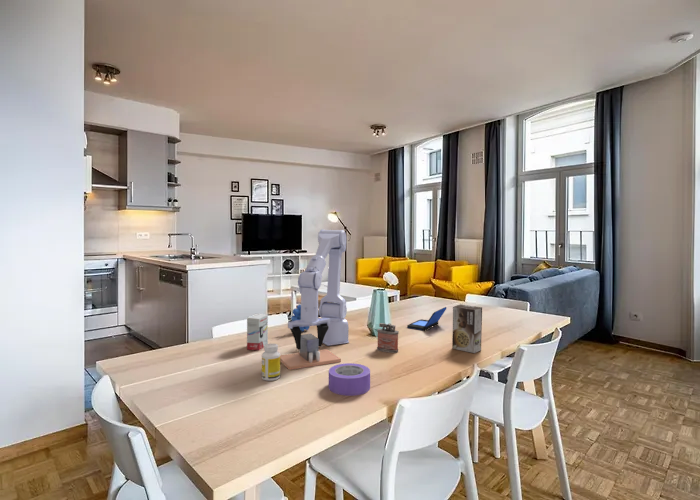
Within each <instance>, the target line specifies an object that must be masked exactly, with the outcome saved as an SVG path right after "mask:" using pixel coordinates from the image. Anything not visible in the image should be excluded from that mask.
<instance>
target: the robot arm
mask: <svg viewBox="0 0 700 500" xmlns="http://www.w3.org/2000/svg"><path fill="white" fill-rule="evenodd" d="M317 242H318V246H317V249H316V252H315V254H314V255H312V256H311V257H310V259H309V261H308V263H307V265H306V267H305V270H304V271H302V272H301V273H300V274H299V275H298V280H297V284H298V285H297V286H298V287H299V290H298V292H299V294H300V305H301V320H296V321H292V320H291V321H287V328H288V329H289V330H290V332H291V333H292V336H293V339H294V343H295V345H296V349H297V350H298V351H299V350H300V349H301V335H302V333H303V332H302V331H301V330H300V328H299V327H306V326H310V327H315V326H316V331H317V338H318V339H319V348H321V347H323V344H324V345H325V346H327V347H328V346H335V345H342V344H349V343H350V341H349V323H348V320H347V319H346V317H347V310H348V308H347V300H346V298H344V297H343V296H342V295H341V294H340V290H341V287H340V286H341V270H342V256H343V253H345V252H346V250H347V249H346V248H347V233H346V231H345V230H344V229H320V230H319V232H318V234H317ZM327 256H328V268H327V269H328V271H327V272H328V273H327V286H326V287H327V289H326V295H325V296H323V297H321V298H320V304H319V289H320V287H321V285H322V279H323V273H324V270H325V268H326V265H327V262H326V258H327Z"/></svg>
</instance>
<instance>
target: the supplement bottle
mask: <svg viewBox="0 0 700 500" xmlns="http://www.w3.org/2000/svg"><path fill="white" fill-rule="evenodd" d="M278 349H279V345H278V344H277V343H268V344H266V345H264V347H263V351H264V352H263V353H261V379H262V380H263V381H268V382H269V381H270V382H271V381H272V382H273V381H276V380H279V379H280V378H281V361H280V355H281V353H280V352H279V351H278Z"/></svg>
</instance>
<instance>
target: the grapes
mask: <svg viewBox="0 0 700 500" xmlns="http://www.w3.org/2000/svg"><path fill="white" fill-rule="evenodd" d="M292 314H293V315H292V316H291V321H296V320H301V304H298V305H297V307H296V308H293V309H292ZM299 328H300V330H301V331H302V333H303V332H305V331H308V330H309V329H310V328H311V326H306V327H299Z"/></svg>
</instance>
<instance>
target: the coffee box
mask: <svg viewBox="0 0 700 500" xmlns="http://www.w3.org/2000/svg"><path fill="white" fill-rule="evenodd" d="M482 321H483V307H481V306H474V305H467V304H458V305H455V306H452V335H451V336H452V337H451V339H452V342H451V345H452V346H451V348H452V349H453V350H456V351H457V350H458V351H462V352H466V353H471V354H476V353H478V352H479V351H482V335H483V334H482V332H483V330H482V329H483V324H482V323H483V322H482Z"/></svg>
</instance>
